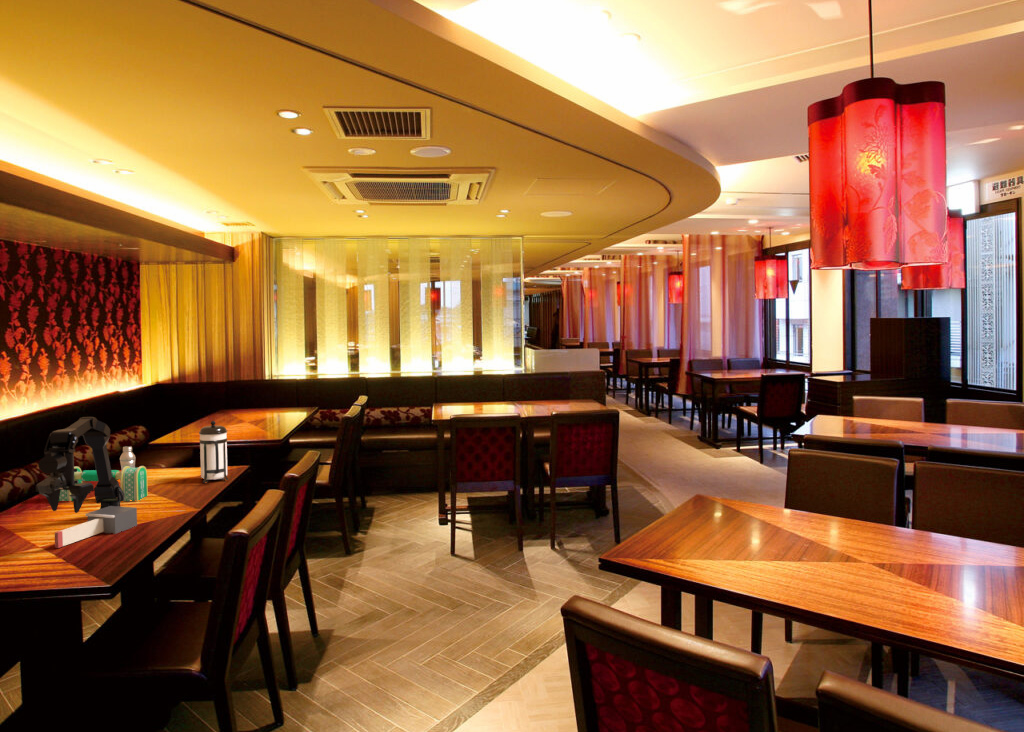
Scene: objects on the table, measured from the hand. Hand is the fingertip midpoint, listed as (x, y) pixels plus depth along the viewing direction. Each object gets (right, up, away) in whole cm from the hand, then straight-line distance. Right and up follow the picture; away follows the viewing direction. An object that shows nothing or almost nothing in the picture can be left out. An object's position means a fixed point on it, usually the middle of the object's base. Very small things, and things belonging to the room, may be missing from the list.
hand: (65, 511), depth 218 cm
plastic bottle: (-27, -8, +81) cm, 86 cm away
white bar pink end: (+1, -11, +6) cm, 13 cm away
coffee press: (+6, -7, +97) cm, 98 cm away
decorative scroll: (-27, -9, +61) cm, 68 cm away
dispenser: (+4, -11, +19) cm, 22 cm away
